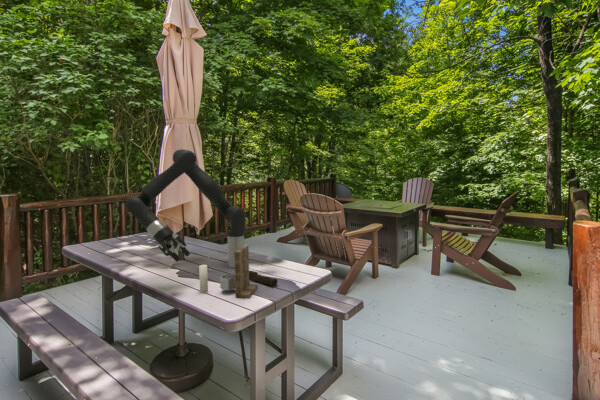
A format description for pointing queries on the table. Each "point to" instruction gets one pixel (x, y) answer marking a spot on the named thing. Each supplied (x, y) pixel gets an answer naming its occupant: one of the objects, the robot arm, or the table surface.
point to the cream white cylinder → (203, 278)
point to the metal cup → (227, 282)
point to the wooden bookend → (243, 274)
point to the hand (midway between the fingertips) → (183, 257)
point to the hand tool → (262, 279)
